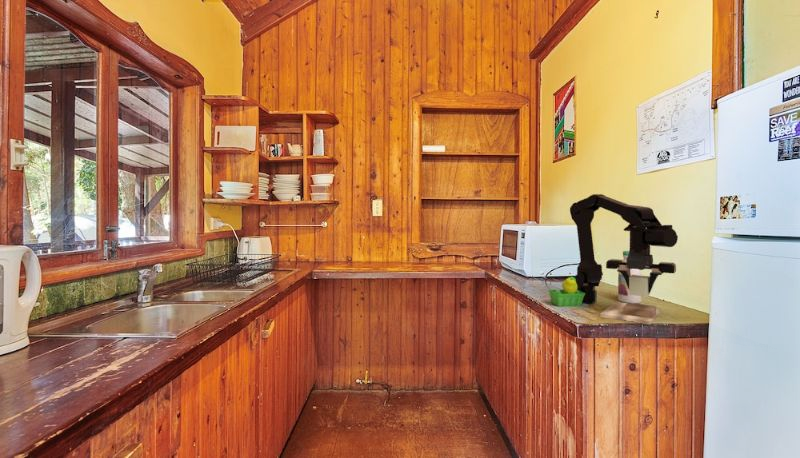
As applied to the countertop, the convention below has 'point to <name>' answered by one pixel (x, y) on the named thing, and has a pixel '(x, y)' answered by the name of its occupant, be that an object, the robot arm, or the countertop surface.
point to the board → (617, 313)
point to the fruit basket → (567, 294)
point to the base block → (639, 310)
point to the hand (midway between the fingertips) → (639, 291)
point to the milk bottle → (622, 285)
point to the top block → (639, 285)
